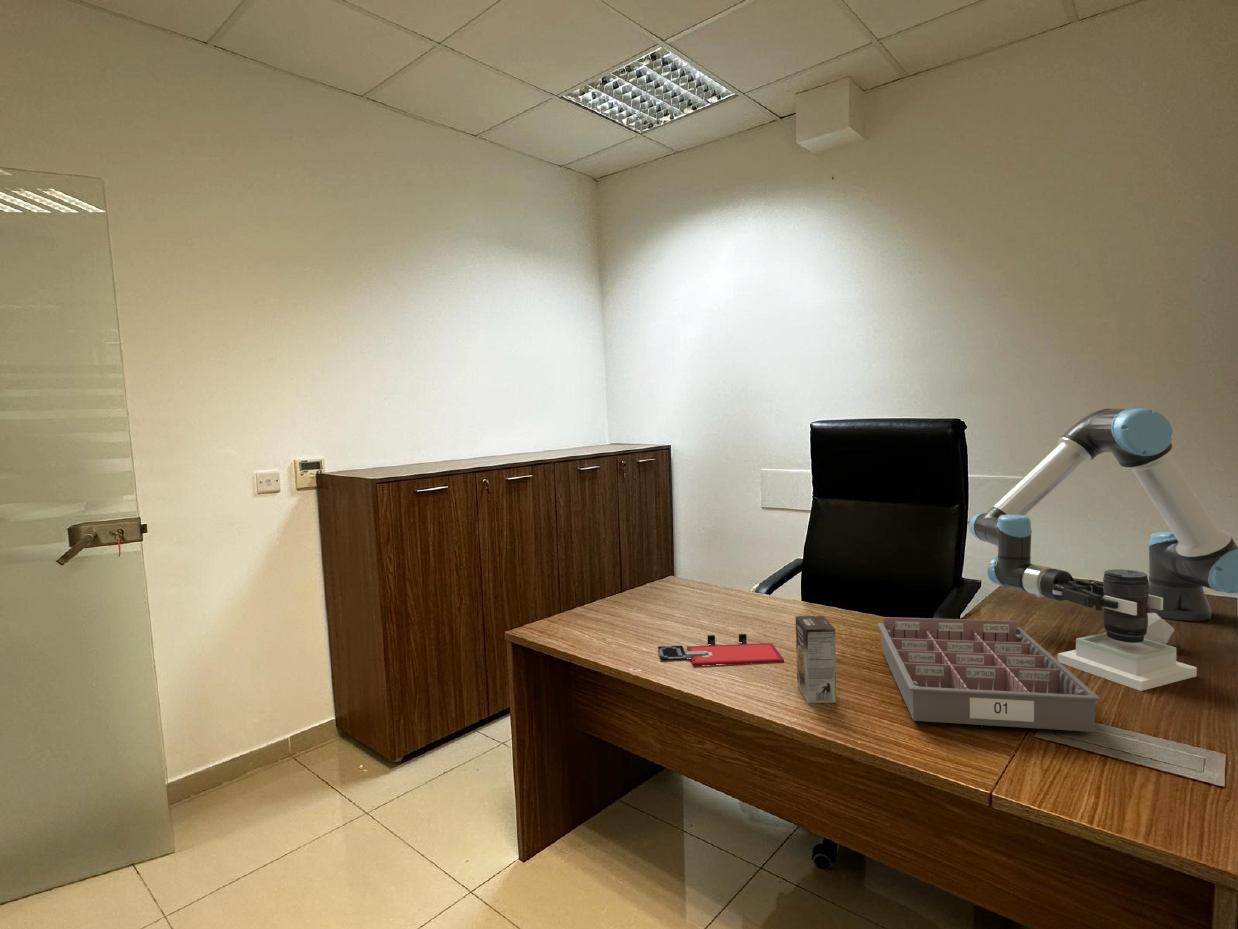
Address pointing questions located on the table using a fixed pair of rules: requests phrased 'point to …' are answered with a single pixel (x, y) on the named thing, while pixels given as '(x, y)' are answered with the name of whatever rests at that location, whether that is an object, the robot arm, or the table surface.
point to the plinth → (1128, 677)
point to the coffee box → (816, 659)
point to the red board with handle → (724, 653)
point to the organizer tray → (983, 675)
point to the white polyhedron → (1158, 629)
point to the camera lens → (1130, 589)
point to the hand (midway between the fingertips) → (1148, 606)
